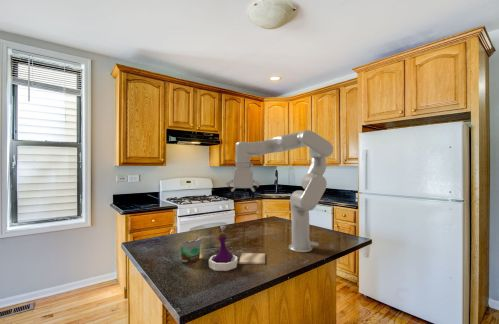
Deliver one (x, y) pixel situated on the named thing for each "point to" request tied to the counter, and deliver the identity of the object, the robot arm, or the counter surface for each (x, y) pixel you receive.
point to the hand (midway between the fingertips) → (243, 199)
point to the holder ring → (223, 264)
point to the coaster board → (252, 258)
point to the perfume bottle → (223, 249)
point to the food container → (190, 250)
